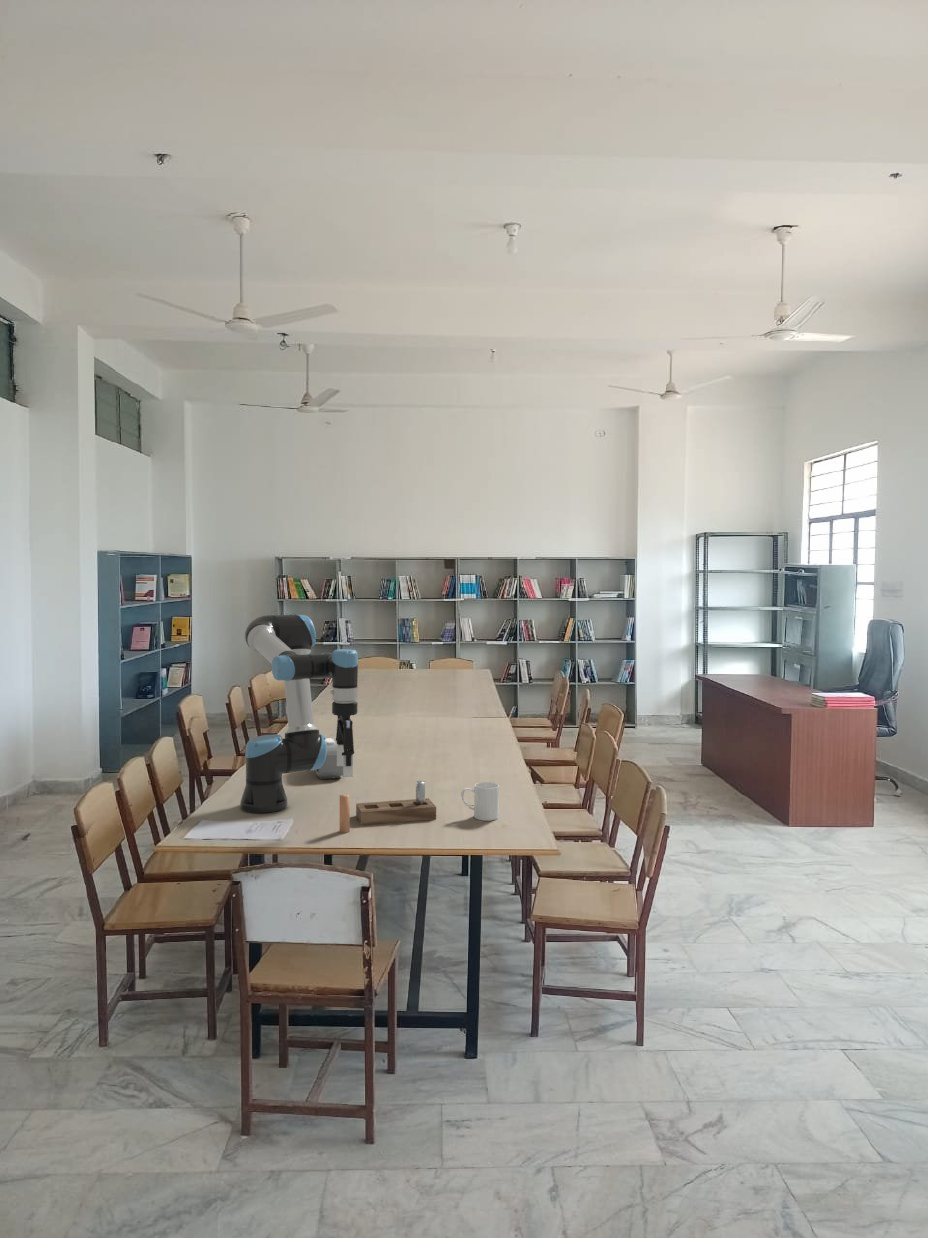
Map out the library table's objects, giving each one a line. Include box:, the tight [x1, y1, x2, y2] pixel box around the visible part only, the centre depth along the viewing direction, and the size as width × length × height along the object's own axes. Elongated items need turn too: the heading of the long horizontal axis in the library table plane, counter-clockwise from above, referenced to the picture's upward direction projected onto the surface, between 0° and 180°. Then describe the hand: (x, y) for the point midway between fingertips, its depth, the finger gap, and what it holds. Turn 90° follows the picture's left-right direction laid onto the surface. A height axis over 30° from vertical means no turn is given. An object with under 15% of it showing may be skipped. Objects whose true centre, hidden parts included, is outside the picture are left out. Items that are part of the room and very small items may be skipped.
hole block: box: [355, 797, 437, 826], centre depth 264 cm, size 10×24×4 cm, turn 107°
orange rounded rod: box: [339, 793, 351, 834], centre depth 249 cm, size 3×3×11 cm
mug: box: [460, 781, 500, 822], centre depth 264 cm, size 12×8×10 cm, turn 103°
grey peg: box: [415, 780, 426, 806], centre depth 266 cm, size 3×3×11 cm
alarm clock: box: [313, 737, 343, 780], centre depth 317 cm, size 21×10×13 cm, turn 18°
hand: (344, 771), depth 248 cm, fingers open, 13 cm apart
